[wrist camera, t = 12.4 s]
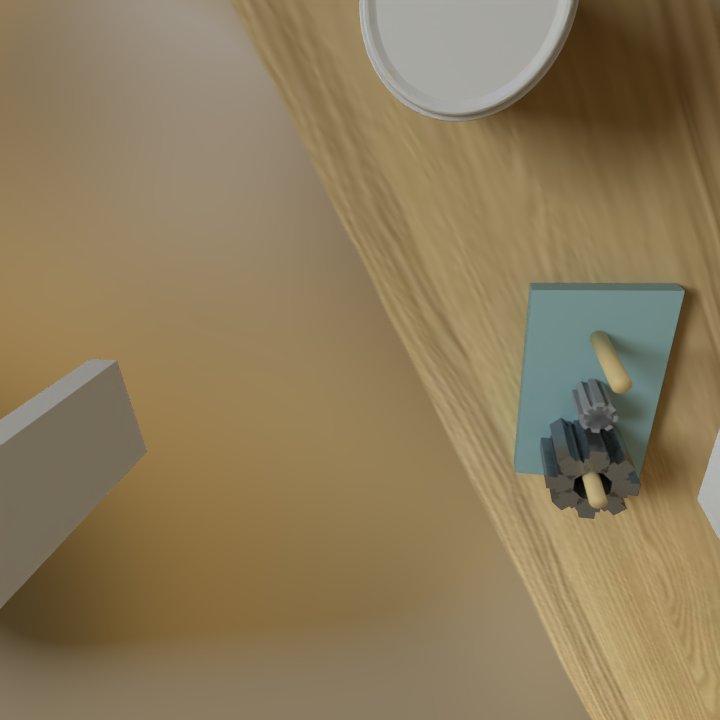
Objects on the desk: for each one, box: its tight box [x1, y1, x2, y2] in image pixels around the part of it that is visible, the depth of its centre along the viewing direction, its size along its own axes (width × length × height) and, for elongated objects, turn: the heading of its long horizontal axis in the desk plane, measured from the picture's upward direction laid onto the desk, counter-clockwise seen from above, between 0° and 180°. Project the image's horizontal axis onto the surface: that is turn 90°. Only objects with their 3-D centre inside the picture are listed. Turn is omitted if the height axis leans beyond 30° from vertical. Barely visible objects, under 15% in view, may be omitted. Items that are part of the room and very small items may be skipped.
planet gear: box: [540, 418, 641, 519], centre depth 39 cm, size 6×6×5 cm
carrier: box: [514, 283, 685, 508], centre depth 37 cm, size 17×10×8 cm, turn 4°
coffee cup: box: [359, 0, 579, 122], centre depth 26 cm, size 9×9×12 cm
